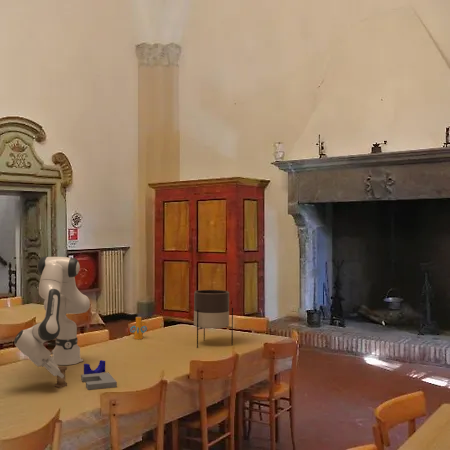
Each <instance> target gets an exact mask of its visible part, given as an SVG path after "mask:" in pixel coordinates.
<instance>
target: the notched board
mask: <svg viewBox="0 0 450 450" xmlns="http://www.w3.org/2000/svg"><path fill="white" fill-rule="evenodd" d="M80 379H81V381H82V383H85V388H86V389H87V390H88V391H89V390H100V389H110V388H111V389H113V388H118V386H117V385H118V383H117V380H116V379H115V378H114V377H113V376H112V374H110V373H109V372H108V371H107V372H102V373H95V374H84V373H83V374H80Z"/></svg>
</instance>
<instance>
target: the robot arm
mask: <svg viewBox="0 0 450 450" xmlns="http://www.w3.org/2000/svg"><path fill="white" fill-rule="evenodd" d="M36 267H37V268H36V269H37V272H38V274H39V275H40V278H39V279H40V280H39V284H38V295H39V296H40V297H41V299H43V300H44V302H43V308H44V310H45V314H44V318H43V320H42V321H41V322H38V323H36V324H34V325H33V326H31V327H29V328H26V329H21V330H20V331H18V333H17V334H16V336H15V338H14V341H13V343H14V345H15V347H16V348H17V350H18V351H20V352H21V353H22V354H23V355H24V356H25V357H28V359H29V361H31V363H33V364H34V365H35V366H37V367H38V368H39V367H43V368H44V369H46V370H47V371H48V372H49V373H50V375H52V376H54V377H57V375H58V376H59V377H61V378H63V377H64V375H63V374H62V373H61V372H60V370H59V368H58V367H59V366H68V365H75V364H79V363H81V362H84V359H83V358H82V357H81V347H80V346H79V345H78V341H79V340H78V337H77V335H78V333H77V332H78V330H77V328H78V326H77V323H76V322H75V321H74V320H72V319H70V318H68V317H67V315H69V314H70V315H71V314H74V315H75V314H76V315H78V314H83V313H84V314H85V313H88V311H89V309H90V307H91V300H90V298H89V297H88V296H87V295H85V294H84V293H82V292H81V291H80V290H79V289H78V287H77V284H76V278H75V277H77V276H78V274H79V273H80V268H81V265H80V261H79V260H78V259H77V258H75V257H66V256H48V255H47V256H42V257H40V258H39V259H38V261H37V266H36ZM53 340H55V347H54V348H53V349H52V350H51V351H50V350H49V349H48V348H46V346H44V344H45V343H46V342H49V341H53Z"/></svg>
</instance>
